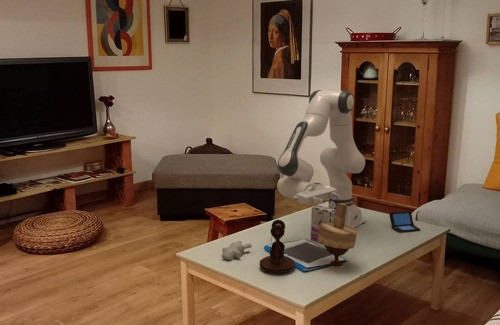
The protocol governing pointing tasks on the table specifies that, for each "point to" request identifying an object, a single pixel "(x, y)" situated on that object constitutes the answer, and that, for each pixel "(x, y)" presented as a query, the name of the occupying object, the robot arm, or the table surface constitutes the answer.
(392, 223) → the handheld game console
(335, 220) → the oak lid
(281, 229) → the turned wooden statuette
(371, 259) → the table surface
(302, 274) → the table surface
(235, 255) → the bunny figurine
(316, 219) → the candy bar box
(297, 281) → the table surface
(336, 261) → the ice cream bowl
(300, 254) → the mat
